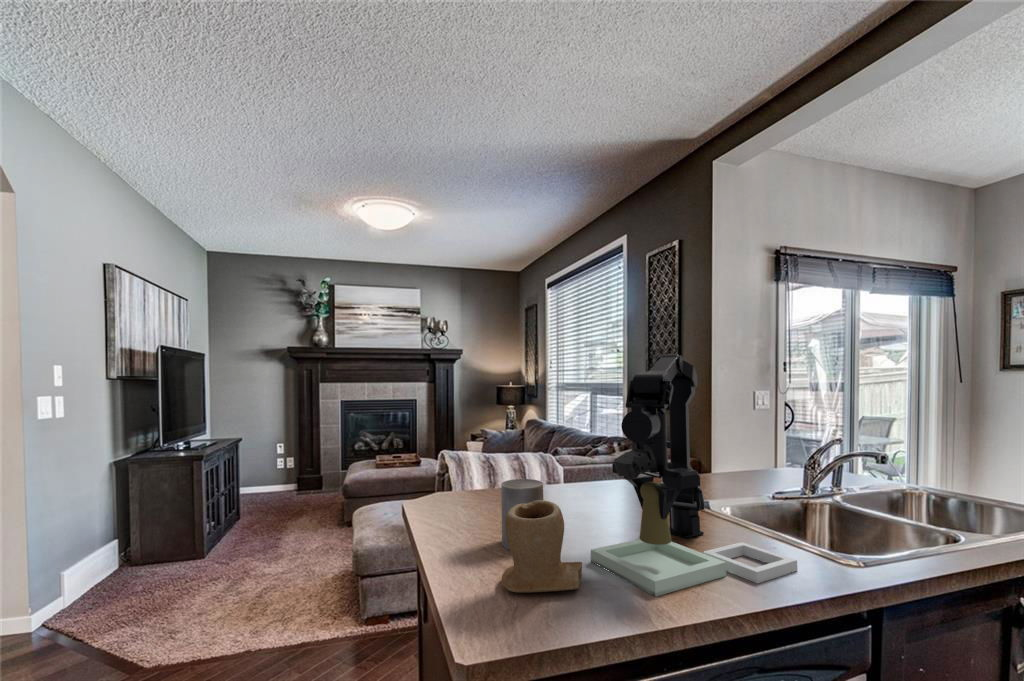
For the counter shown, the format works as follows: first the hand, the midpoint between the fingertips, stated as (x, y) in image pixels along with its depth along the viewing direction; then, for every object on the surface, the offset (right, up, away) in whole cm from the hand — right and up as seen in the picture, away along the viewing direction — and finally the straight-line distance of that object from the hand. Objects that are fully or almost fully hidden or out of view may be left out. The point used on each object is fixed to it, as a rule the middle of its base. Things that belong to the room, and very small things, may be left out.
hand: (654, 516), depth 95 cm
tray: (0, -10, -1) cm, 10 cm away
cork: (0, -5, 0) cm, 5 cm away
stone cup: (-23, -10, -10) cm, 26 cm away
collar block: (+19, -10, 0) cm, 21 cm away
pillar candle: (-26, -12, +14) cm, 31 cm away
